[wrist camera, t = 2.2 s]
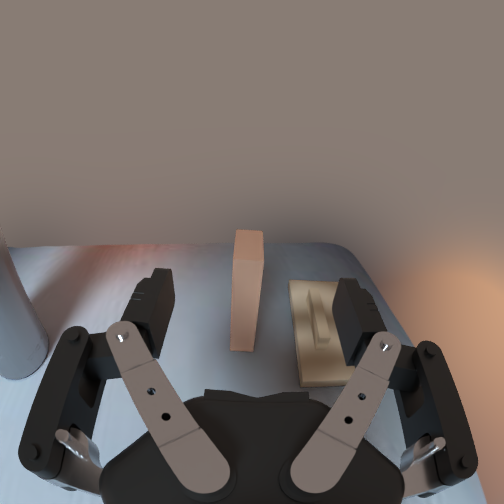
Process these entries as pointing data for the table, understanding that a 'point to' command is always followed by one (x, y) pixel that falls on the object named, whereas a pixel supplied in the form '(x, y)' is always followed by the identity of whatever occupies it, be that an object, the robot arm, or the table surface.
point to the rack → (317, 335)
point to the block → (246, 288)
